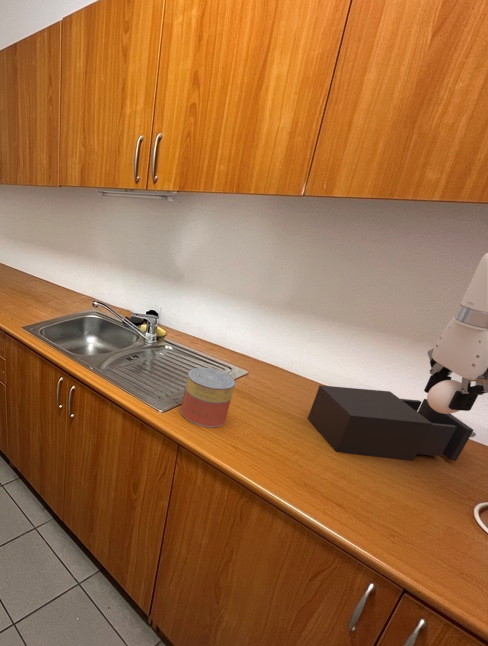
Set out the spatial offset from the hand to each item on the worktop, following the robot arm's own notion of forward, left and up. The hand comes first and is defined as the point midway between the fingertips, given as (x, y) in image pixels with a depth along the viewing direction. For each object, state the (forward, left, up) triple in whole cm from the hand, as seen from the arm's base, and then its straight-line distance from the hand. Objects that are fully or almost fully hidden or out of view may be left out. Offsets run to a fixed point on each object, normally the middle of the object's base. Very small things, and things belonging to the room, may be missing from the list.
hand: (446, 400), depth 80 cm
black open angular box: (-8, -12, -19) cm, 24 cm away
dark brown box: (+3, -12, -20) cm, 24 cm away
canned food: (+38, -15, -20) cm, 46 cm away
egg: (0, 0, -3) cm, 3 cm away
